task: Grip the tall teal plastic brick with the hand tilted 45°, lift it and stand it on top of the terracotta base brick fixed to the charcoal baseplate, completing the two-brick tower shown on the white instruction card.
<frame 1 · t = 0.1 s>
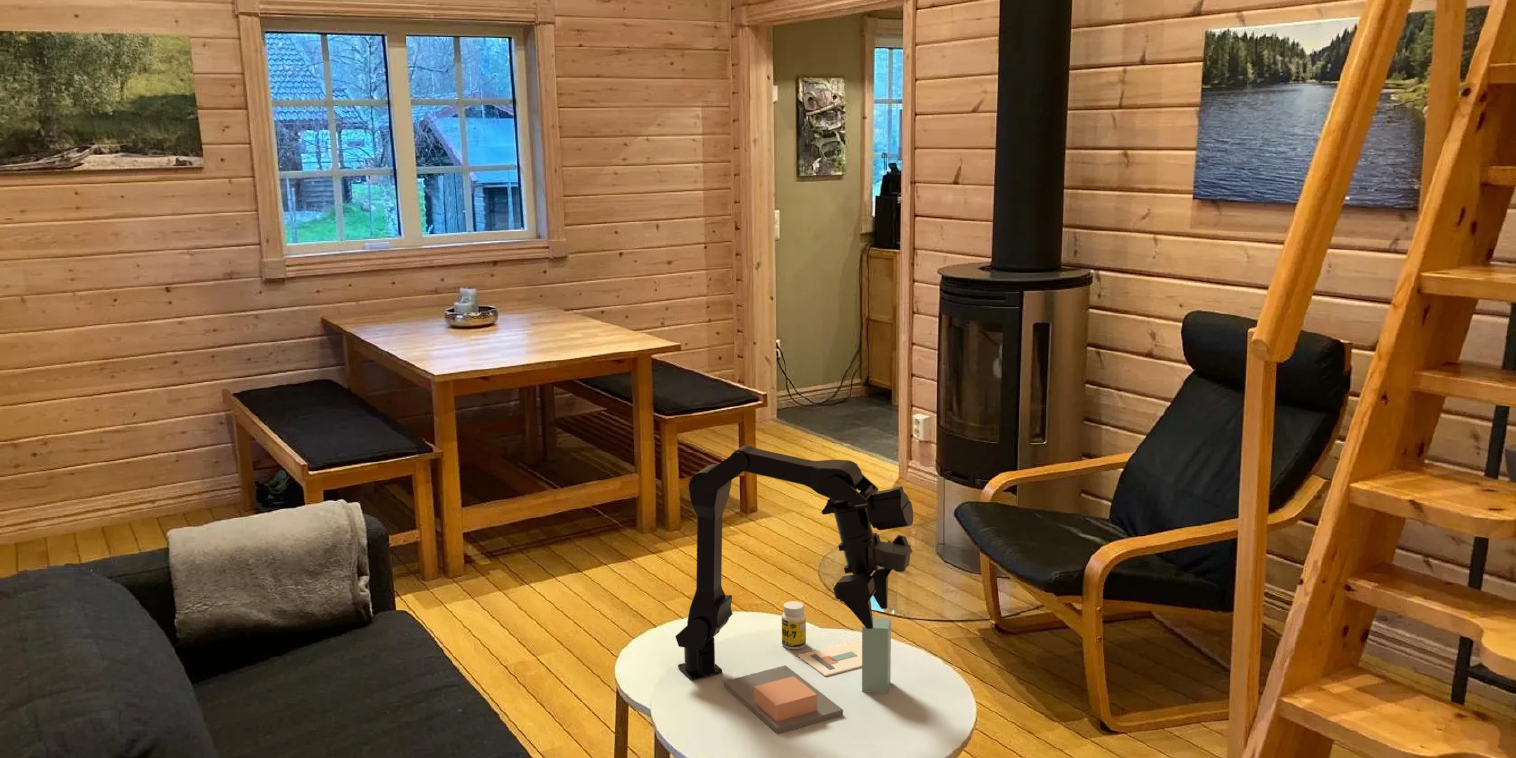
hand: (877, 618, 201), 15 cm above the table, tool pointing down, fingers open, 9 cm apart
instruction card: (842, 658, 220), on the table
baseplate: (781, 700, 204), on the table
tall brick: (876, 686, 209), on the table
supplement bottle: (793, 645, 227), on the table
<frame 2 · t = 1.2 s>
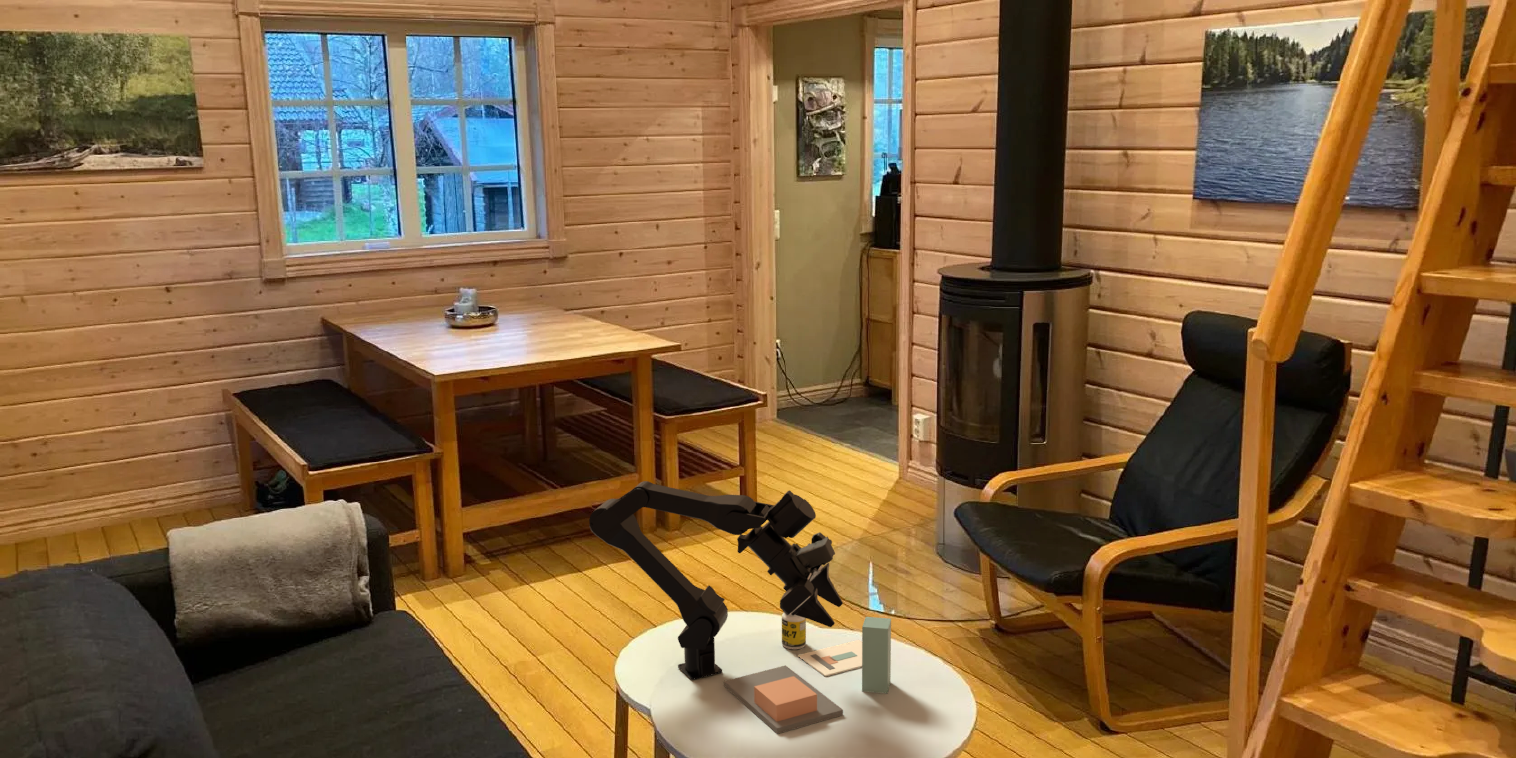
hand: (837, 615, 208), 13 cm above the table, tool tilted 45°, fingers open, 9 cm apart
nothing on the table moved.
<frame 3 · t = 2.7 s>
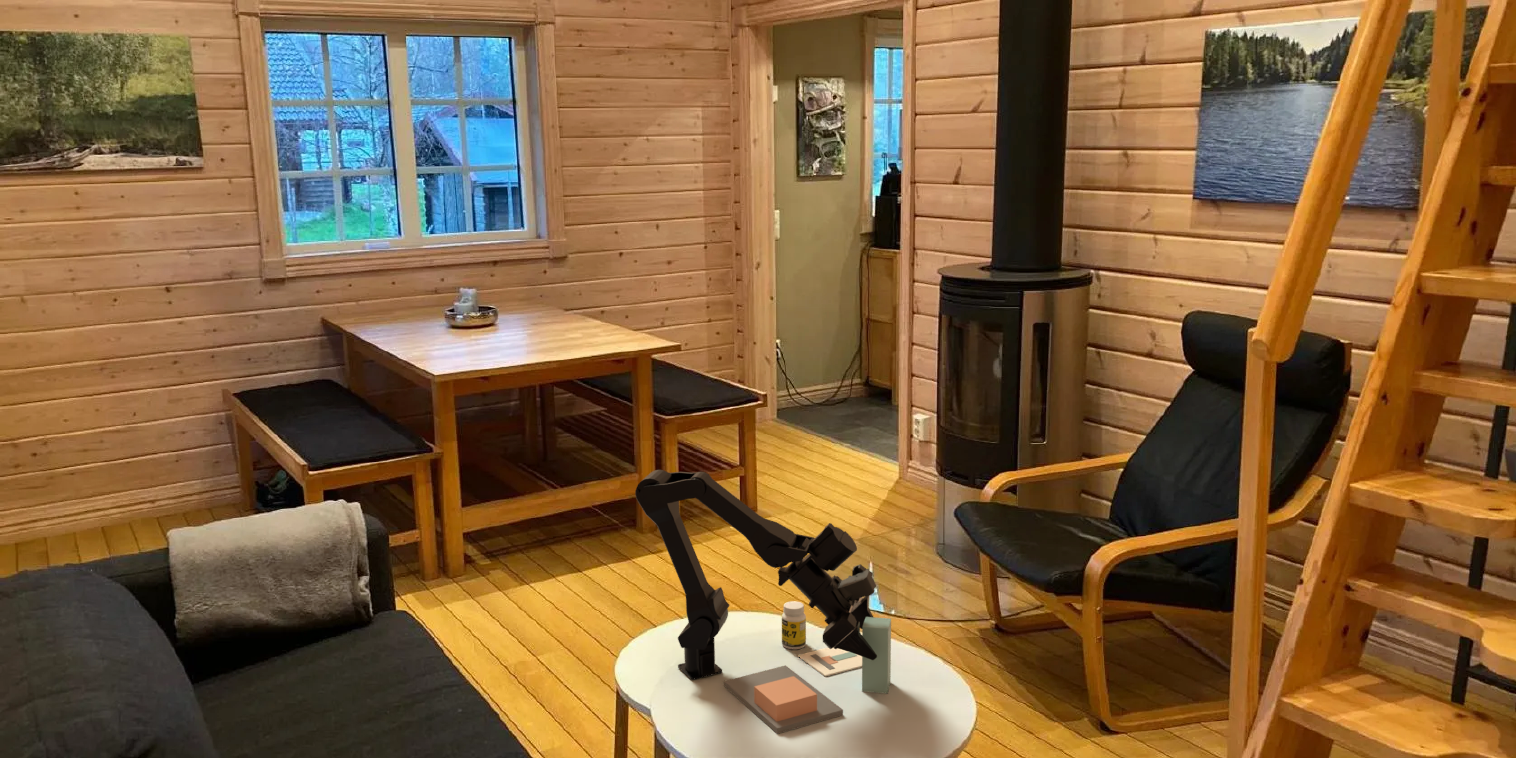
hand: (878, 647, 207), 8 cm above the table, tool tilted 45°, fingers open, 9 cm apart
nothing on the table moved.
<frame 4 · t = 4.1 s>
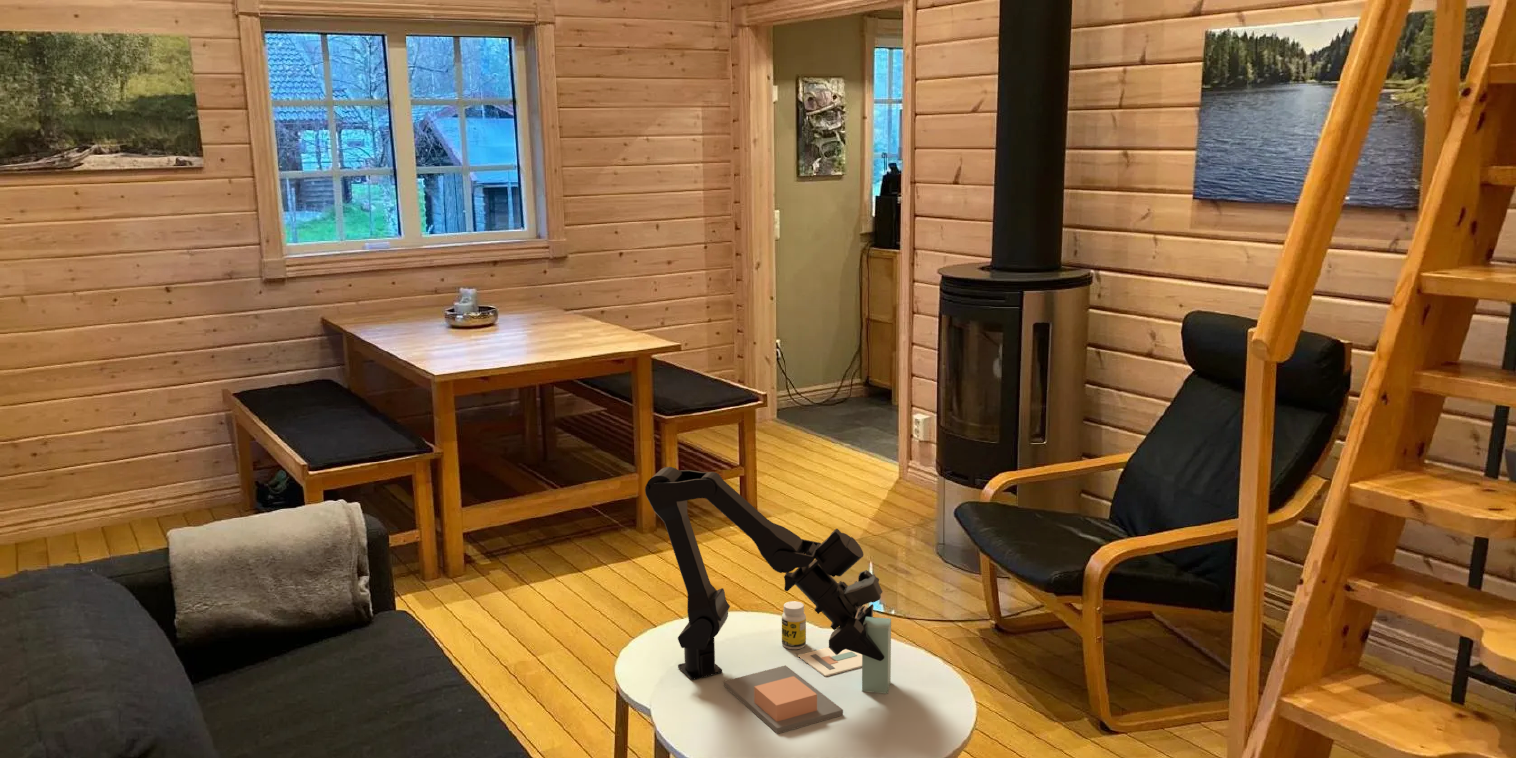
hand: (884, 653, 207), 7 cm above the table, tool tilted 45°, fingers closed on tall brick, 5 cm apart
tall brick: (876, 686, 209), on the table, touching gripper
everything else where it was.
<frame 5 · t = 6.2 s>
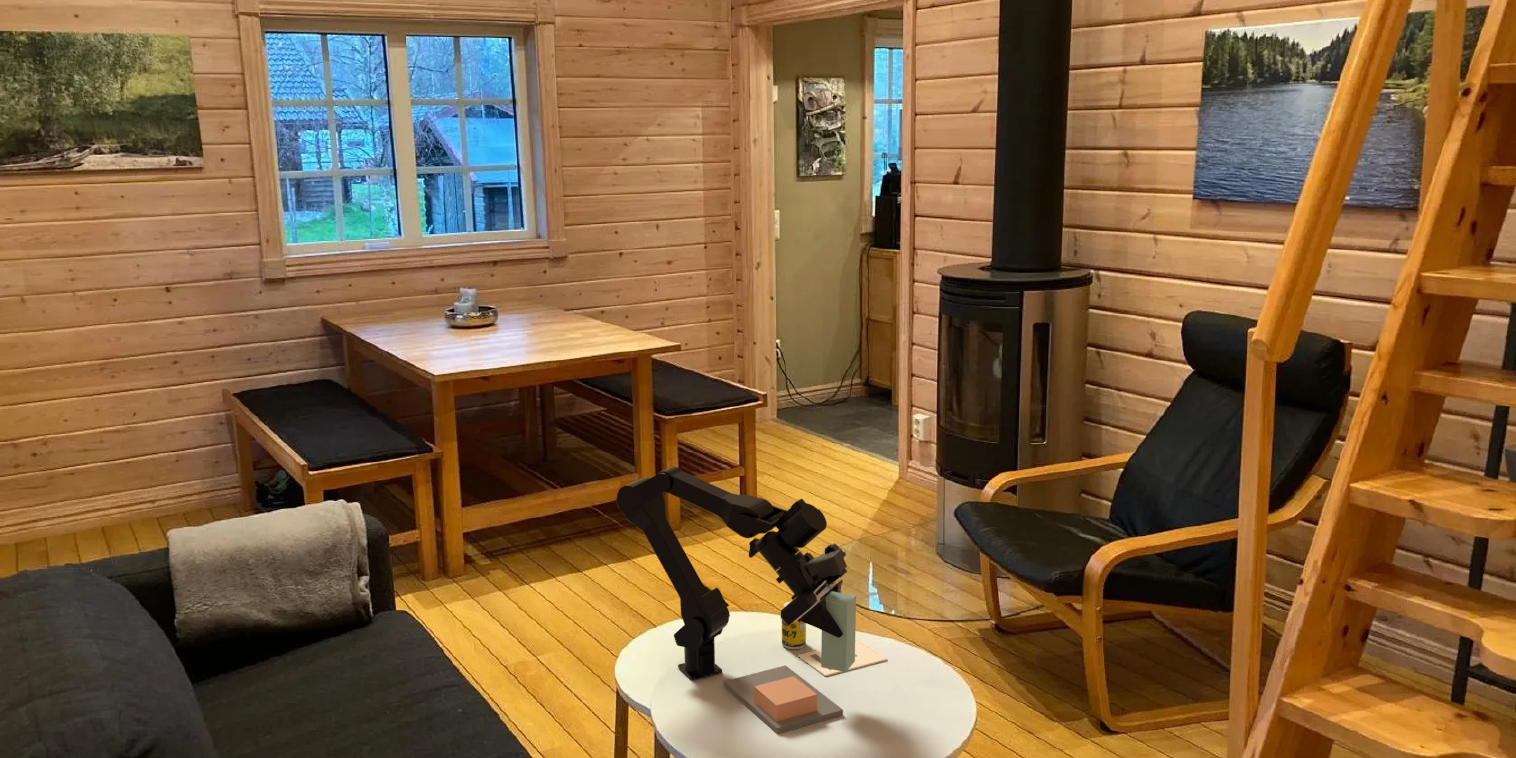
hand: (845, 630, 200), 14 cm above the table, tool tilted 45°, fingers closed on tall brick, 5 cm apart
tall brick: (838, 664, 202), point 7 cm above the table, touching gripper
everything else where it was.
when the fingers open (11 cm above the table, at t = 8.6 s): tall brick stays where it is, resting on baseplate.
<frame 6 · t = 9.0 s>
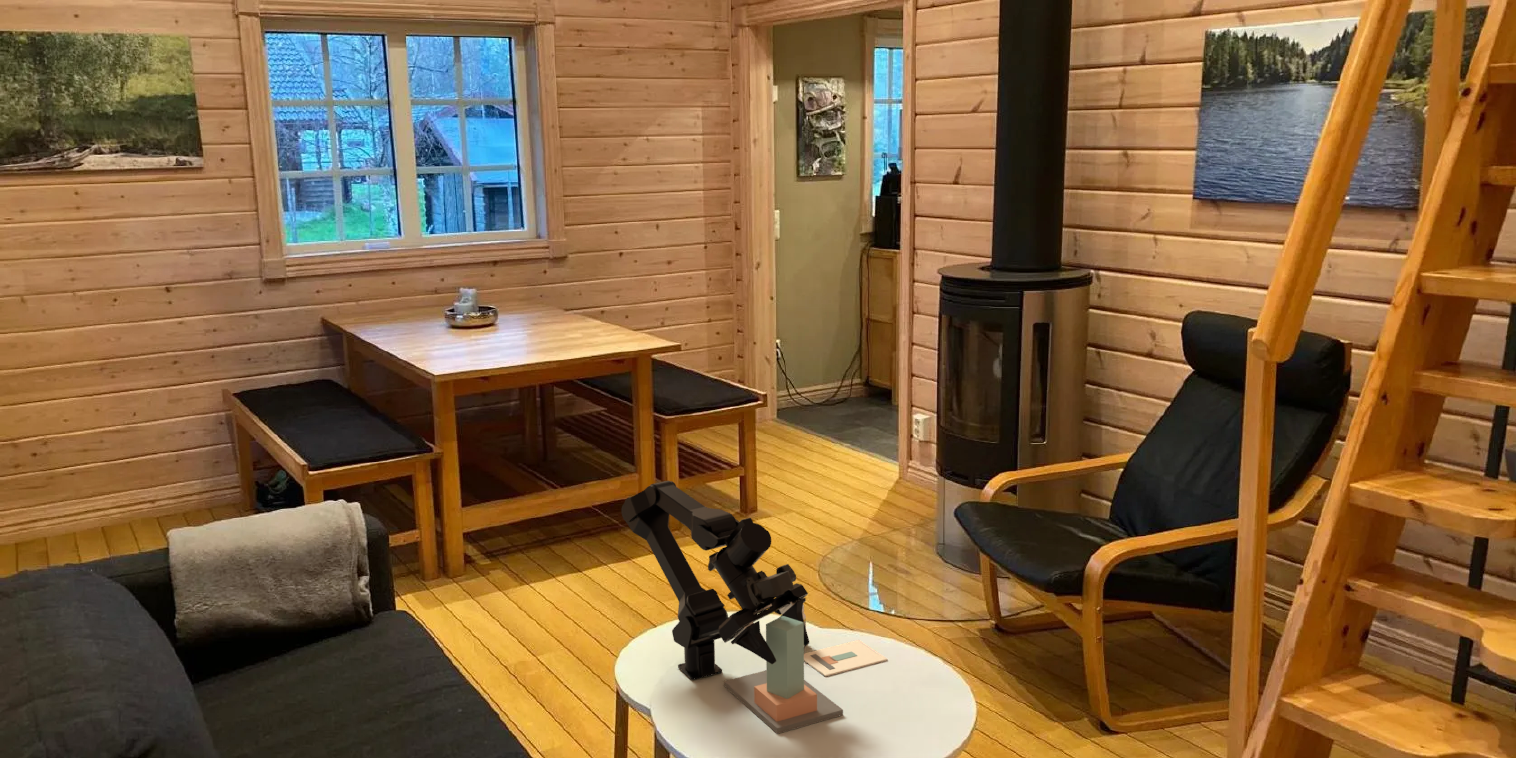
hand: (791, 653, 197), 11 cm above the table, tool tilted 45°, fingers open, 9 cm apart
tall brick: (785, 690, 199), point 4 cm above the table, touching baseplate
everything else where it was.
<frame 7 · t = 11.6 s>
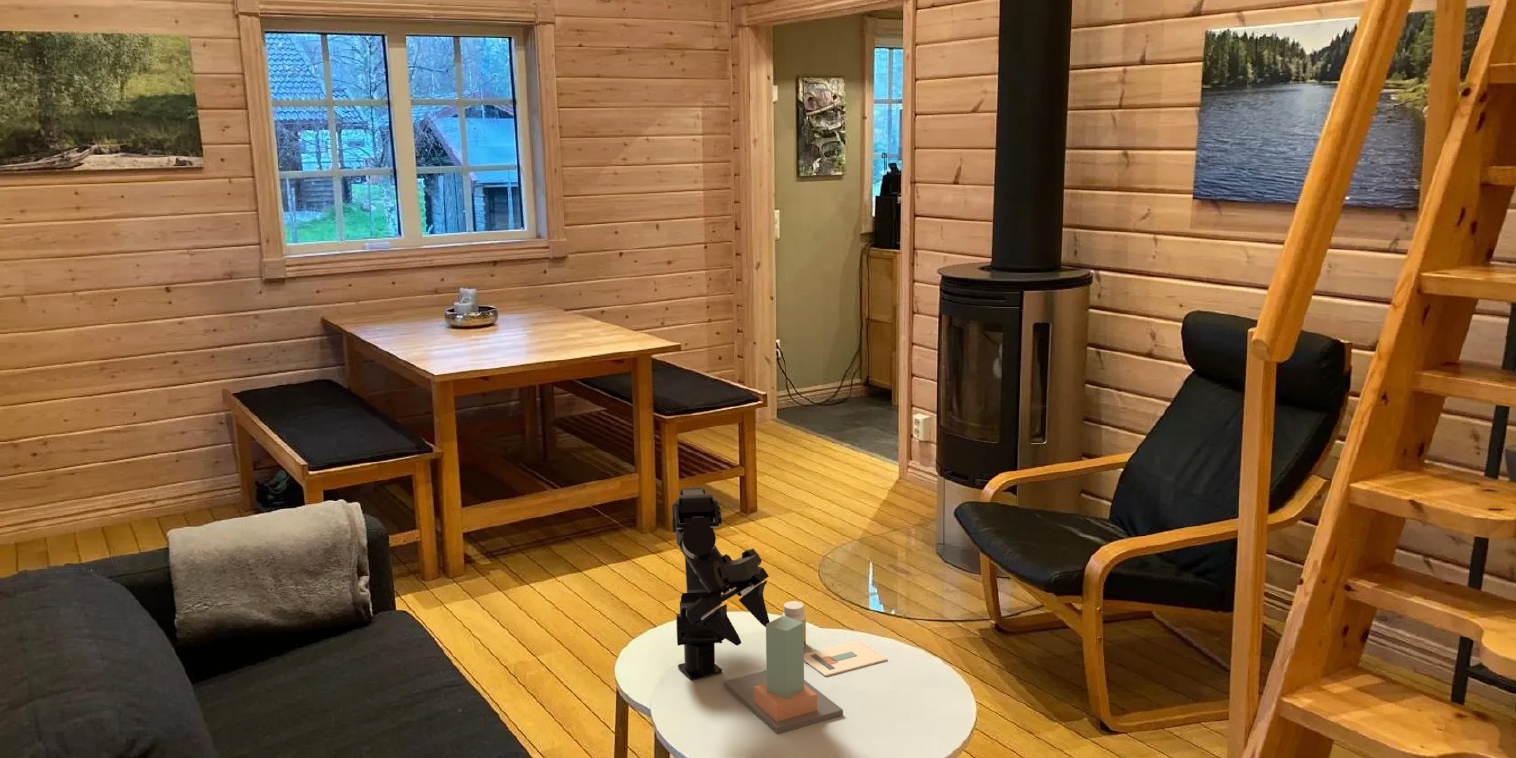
hand: (753, 635, 203), 12 cm above the table, tool tilted 40°, fingers open, 9 cm apart
nothing on the table moved.
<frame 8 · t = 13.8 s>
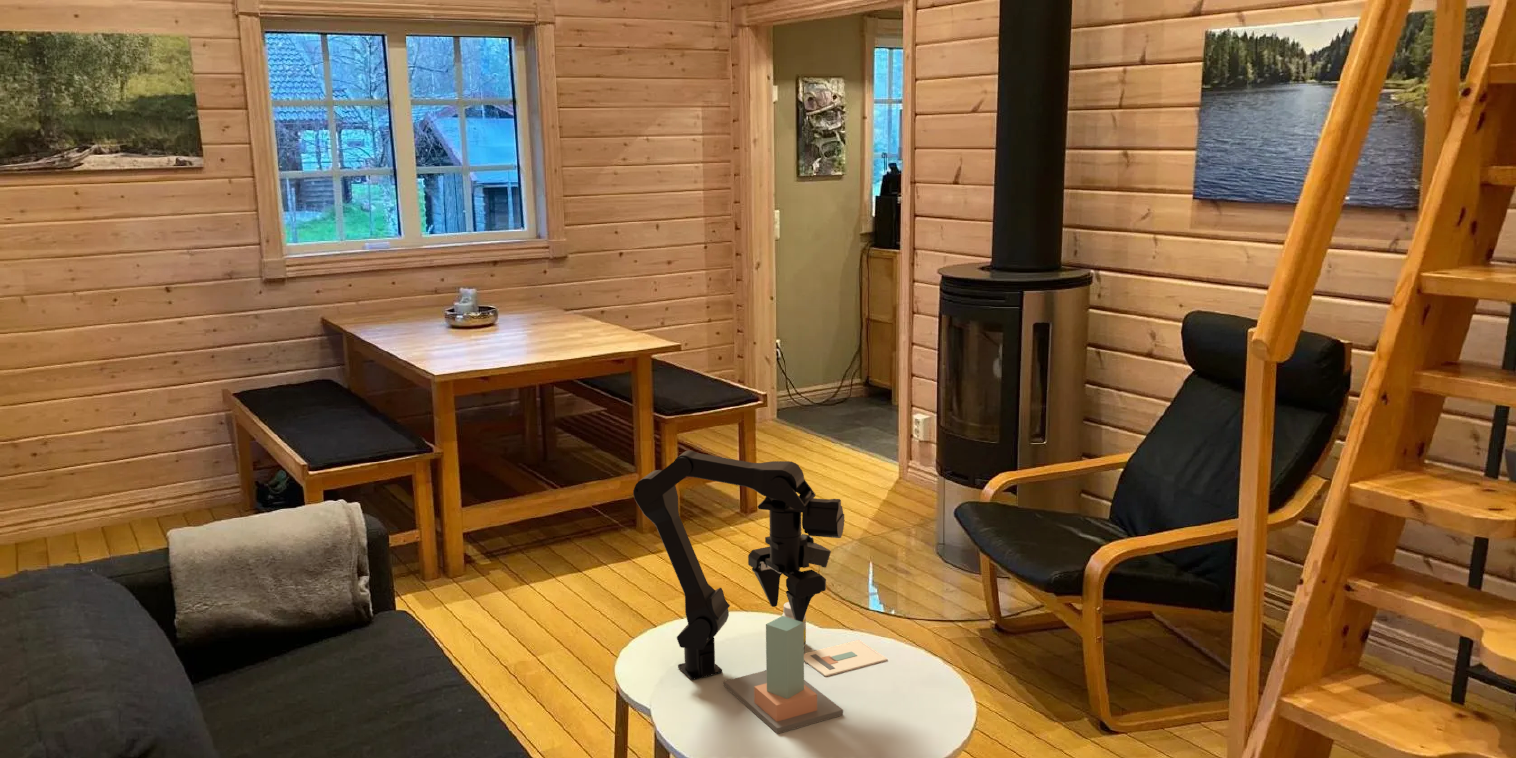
hand: (786, 614, 209), 13 cm above the table, tool pointing down, fingers open, 9 cm apart
nothing on the table moved.
at the end: tall brick 0.0 cm from the target spot on the baseplate, point 4.0 cm above the baseplate's base; tall brick tilted 0°; the gripper is holding nothing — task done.
